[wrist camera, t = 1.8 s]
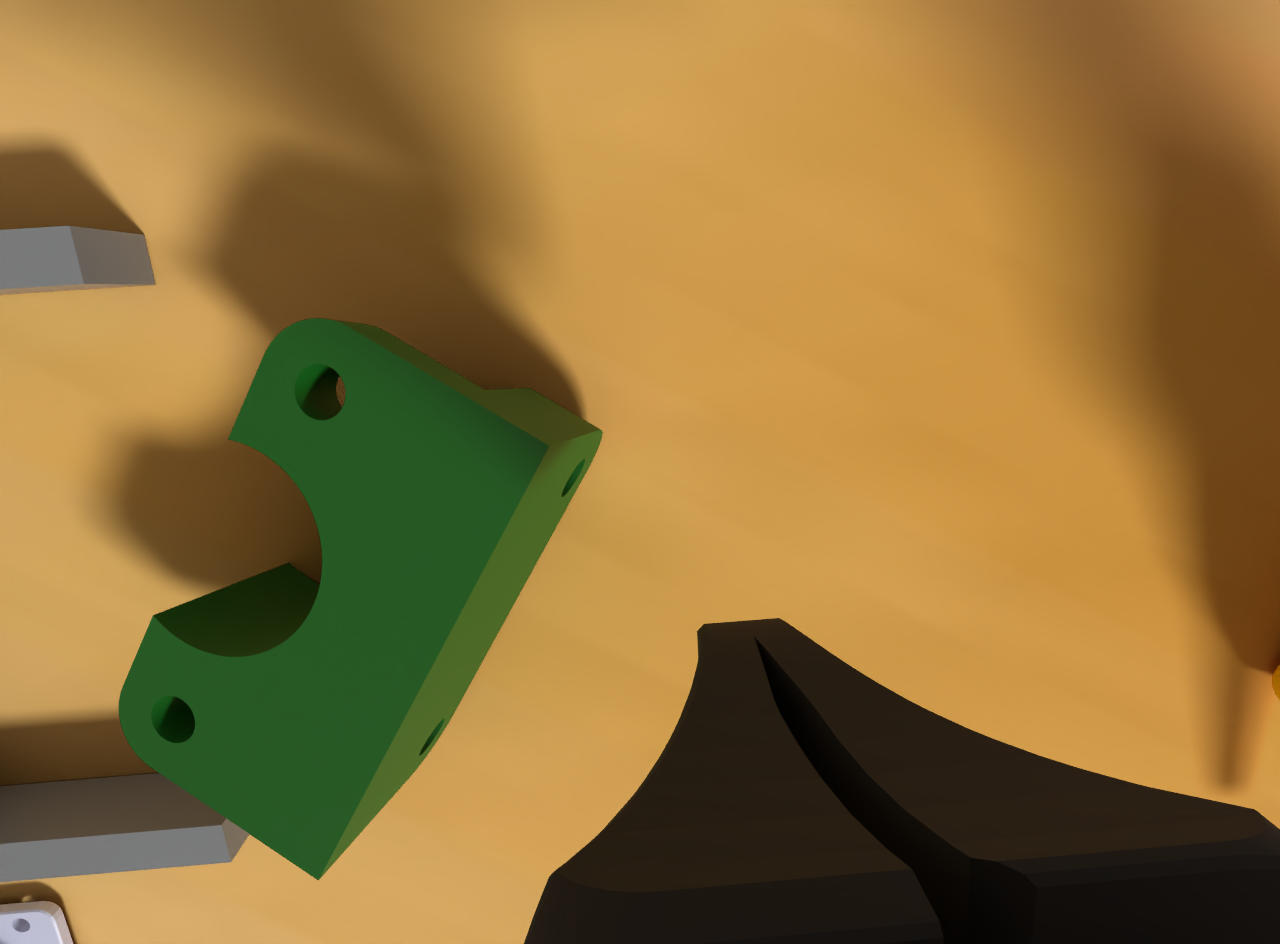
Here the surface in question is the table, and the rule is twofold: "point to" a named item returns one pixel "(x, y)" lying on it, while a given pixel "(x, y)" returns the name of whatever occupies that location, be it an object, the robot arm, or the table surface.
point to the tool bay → (112, 806)
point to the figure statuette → (1276, 681)
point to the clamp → (354, 588)
